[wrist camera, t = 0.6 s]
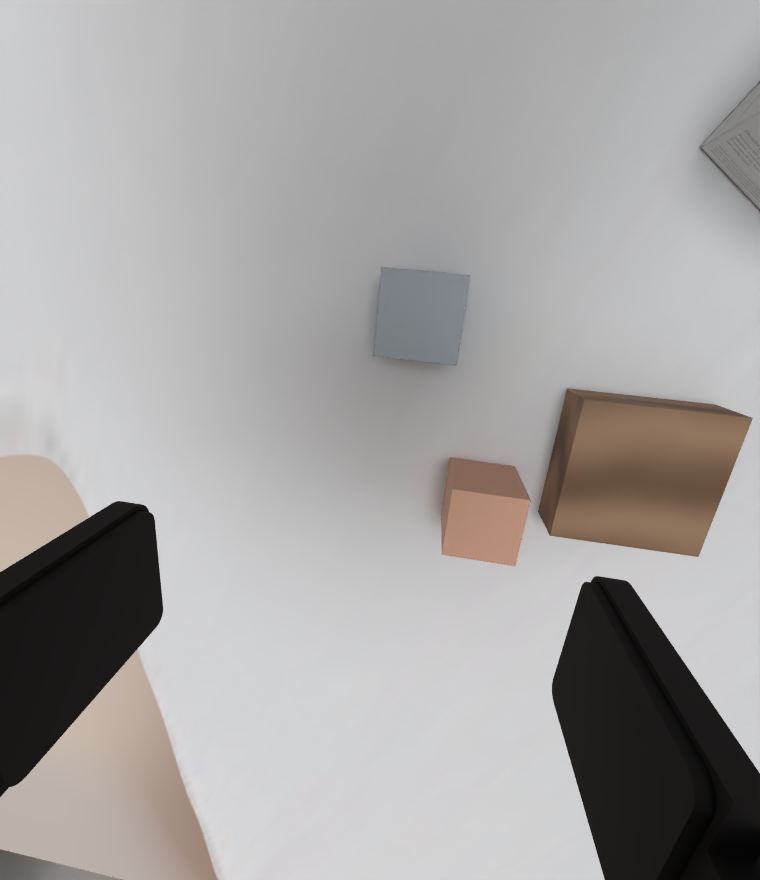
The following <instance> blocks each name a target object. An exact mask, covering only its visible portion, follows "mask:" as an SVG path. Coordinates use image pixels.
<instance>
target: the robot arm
mask: <svg viewBox="0 0 760 880" xmlns="http://www.w3.org/2000/svg"><path fill="white" fill-rule="evenodd" d="M162 613H163V603H162V593H161V582H160V572H159V562H158V551H157V541H156V530H155V520H154V516H153V515H152V514H151V513H149V510H148V509H147V507H146V506H144V505H141V504H134V503H128V502H122V501H117V502H115V503H112V504H111V505H109V506H107V507H106V508H104V509H103V510H101V511H99V512H98V513H96V514H94V515H93V516H91V517H90V518H88V519H86V520H85V521H83V522H81V523H80V524H78V525H77V526H75V527H73V528H72V529H70V530H68V531H67V532H65V533H64V534H62V535H60V536H59V537H57V538H55V539H54V540H52V541H50V542H49V543H47V544H46V545H44V546H42V547H41V548H39V549H37V550H36V551H34V552H33V553H31V554H29V555H28V556H26V557H24V558H23V559H21V560H20V561H18V562H16V563H15V564H13V565H11V566H10V567H8V568H7V569H5V570H4V571H2V572H0V797H1V796H2V795H3V793H4V792H5V791H6V790H7V789H8V788H9V787H12V786H14V785H16V784H18V783H19V782H21V781H22V780H23V779H24V778H25V777H26V776H27V775H28V774H29V772H30V771H31V770H32V769H33V768H34V767H35V766H36V764H37V763H38V762H39V761H40V760H41V758H43V756H44V755H45V754H46V753H47V752H48V751H49V750H50V748H51V747H52V746H53V745H54V744H55V743H56V741H57V740H58V739H59V738H60V737H61V736H62V735H63V733H64V732H65V731H66V730H67V729H68V727H70V725H71V724H72V723H73V722H74V721H75V720H76V719H77V717H78V716H79V715H80V714H81V713H82V711H84V709H85V708H86V707H87V706H88V705H89V704H90V702H91V701H92V700H93V699H94V698H95V697H96V696H97V694H98V693H99V692H100V691H101V690H102V689H103V688H104V686H105V685H106V684H107V683H108V682H109V681H110V679H111V678H112V677H113V676H114V675H115V674H116V673H117V672H118V670H119V669H120V668H121V667H122V666H123V665H124V663H125V662H126V661H127V660H128V659H129V658H130V656H131V655H132V654H133V653H134V652H135V651H136V650H137V649H138V647H139V646H140V645H141V644H142V643H143V642H144V641H145V639H146V638H147V637H148V636H149V635H150V634H151V633H152V631H153V630H154V629H155V628H156V627H157V625H158V624H159V622H160V620H161V617H162ZM552 696H553V701H554V705H555V708H556V712H557V715H558V719H559V722H560V726H561V729H562V733H563V736H564V739H565V743H566V746H567V750H568V753H569V757H570V760H571V764H572V767H573V771H574V774H575V778H576V781H577V785H578V788H579V791H580V795H581V798H582V802H583V805H584V809H585V812H586V816H587V819H588V823H589V826H590V830H591V833H592V836H593V840H594V843H595V847H596V850H597V854H598V857H599V861H600V864H601V868H602V871H603V875H604V878H605V880H760V773H759V772H758V770H757V769H756V767H755V766H754V764H753V763H752V761H751V760H750V759H749V757H748V756H747V754H746V753H745V751H744V750H743V748H742V747H741V745H740V744H739V742H738V741H737V739H736V738H735V737H734V735H733V734H732V732H731V731H730V729H729V728H728V726H727V725H726V723H725V722H724V720H723V719H722V718H721V716H720V715H719V713H718V712H717V710H716V709H715V707H714V706H713V704H712V703H711V701H710V700H709V698H708V697H707V696H706V694H705V693H704V691H703V690H702V688H701V687H700V685H699V684H698V682H697V681H696V679H695V678H694V677H693V675H692V674H691V672H690V671H689V669H688V668H687V666H686V665H685V663H684V662H683V660H682V659H681V657H680V656H679V655H678V653H677V652H676V650H675V649H674V647H673V646H672V644H671V643H670V641H669V640H668V638H667V637H666V636H665V634H664V633H663V631H662V630H661V628H660V627H659V625H658V624H657V622H656V621H655V619H654V618H653V616H652V615H651V614H650V612H649V611H648V609H647V608H646V606H645V605H644V603H643V602H642V600H641V599H640V597H639V596H638V595H637V593H636V592H635V590H634V589H633V587H632V586H631V585H630V583H629V582H627V581H624V580H618V579H612V578H605V577H599V576H596V577H594V578H593V579H592V581H591V583H590V582H585V583H584V584H583V585H582V587H581V590H580V593H579V596H578V600H577V603H576V606H575V610H574V613H573V616H572V619H571V623H570V626H569V629H568V632H567V636H566V639H565V642H564V646H563V649H562V652H561V655H560V659H559V662H558V665H557V669H556V672H555V675H554V678H553V683H552ZM0 880H122V879H118V878H114V877H110V876H106V875H102V874H98V873H94V872H90V871H86V870H82V869H78V868H74V867H70V866H66V865H62V864H57V863H54V862H50V861H45V860H41V859H37V858H33V857H29V856H25V855H20V854H17V853H13V852H9V851H5V850H0Z"/></svg>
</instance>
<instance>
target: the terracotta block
mask: <svg viewBox="0 0 760 880" xmlns="http://www.w3.org/2000/svg"><path fill="white" fill-rule="evenodd" d="M530 502H531V500H530V498H529V496H528V494H527V491H526V489H525V487H524V485H523V483H522V481H521V479H520V476H519V474H518V472H517V470H516V468H515V466H508V465H501V464H493V463H486V462H478V461H471V460H464V459H456V458H450V463H449V469H448V475H447V482H446V488H445V494H444V500H443V507H442V513H441V528H442V555H448V556H454V557H461V558H467V559H473V560H479V561H486V562H492V563H498V564H505V565H511V566H515V565H516V561H517V557H518V552H519V548H520V544H521V540H522V535H523V531H524V527H525V523H526V518H527V514H528V510H529V506H530Z"/></svg>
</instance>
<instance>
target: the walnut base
mask: <svg viewBox="0 0 760 880" xmlns="http://www.w3.org/2000/svg"><path fill="white" fill-rule="evenodd" d="M752 419H753V418H751V417H748V416H745V415H743V414H740V413H737V412H734V411H731V410H729V409H726V408H723V407H720V406H717V405H713V404H704V403H695V402H686V401H677V400H668V399H658V398H649V397H640V396H631V395H622V394H613V393H603V392H594V391H585V390H576V389H567V392H566V396H565V401H564V405H563V409H562V413H561V418H560V422H559V426H558V430H557V434H556V439H555V443H554V447H553V451H552V456H551V460H550V464H549V468H548V472H547V477H546V481H545V485H544V489H543V494H542V498H541V502H540V506H539V510H538V512H539V514H540V516H541V518H542V520H543V522H544V524H545V526H546V528H547V530H548V533H549V535H550V536H557V537H564V538H571V539H578V540H585V541H592V542H599V543H606V544H613V545H619V546H626V547H633V548H640V549H647V550H654V551H661V552H668V553H675V554H682V555H689V556H696V557H698V556H699V554H700V551H701V549H702V546H703V544H704V541H705V539H706V536H707V533H708V531H709V528H710V526H711V523H712V521H713V518H714V516H715V513H716V510H717V508H718V505H719V503H720V500H721V498H722V495H723V493H724V490H725V487H726V485H727V482H728V480H729V477H730V475H731V472H732V470H733V467H734V464H735V462H736V459H737V457H738V454H739V452H740V449H741V447H742V444H743V442H744V439H745V436H746V434H747V431H748V429H749V426H750V424H751V421H752Z"/></svg>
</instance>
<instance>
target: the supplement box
mask: <svg viewBox="0 0 760 880" xmlns="http://www.w3.org/2000/svg"><path fill="white" fill-rule="evenodd" d="M701 147H702V149H703V150H704V151H705V152H706V153H707V154H708V155H709V157H710V158H711V159H712V160H713V161H714V162H715V163H716V164H717V165H718V166H719V167H720V168H721V169H722V170H723V171H724V172H725V173H726V174H727V176H728V177H729V178H730V179H731V180H732V181H733V182H734V183H735V184H736V185H737V186H738V187H739V188H740V189H741V190H742V191H743V193H744V194H745V195H746V196H747V197H748V198H749V199H750V200H751V201H752V202H753V203H754V204H755V205H756V206H757V207H758V208H759V209H760V83H759V84H758V85H757V86H756V87H755V88H754V90H753V91H752V92H751V93H750V94H749V95H748V96H747V97H746V98H745V99H744V100H743V101H742V102H741V103H740V105H739V106H738V107H737V108H736V109H735V110H734V111H733V112H732V113H731V114H730V115H729V116H728V117H727V118H726V120H725V121H724V122H723V123H722V124H721V125H720V126H719V127H718V128H717V129H716V130H715V131H714V132H713V133H712V135H711V136H710V137H709V138H708V139H707V140H706V141H705V142H704V143H703V144H702V146H701Z"/></svg>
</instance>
